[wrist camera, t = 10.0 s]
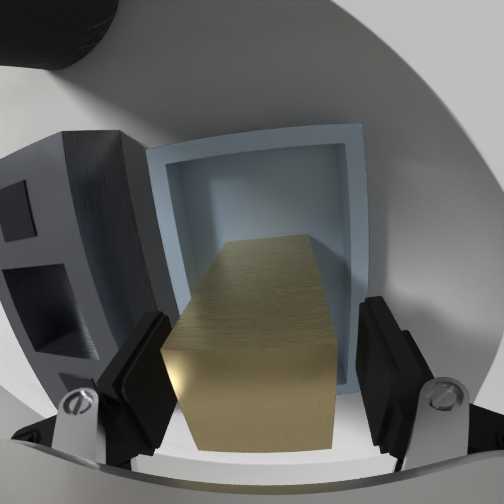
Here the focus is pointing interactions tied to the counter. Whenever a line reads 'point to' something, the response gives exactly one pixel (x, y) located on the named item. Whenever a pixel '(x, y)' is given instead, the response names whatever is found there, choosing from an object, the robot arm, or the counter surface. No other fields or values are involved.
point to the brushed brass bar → (257, 351)
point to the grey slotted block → (70, 257)
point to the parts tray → (271, 210)
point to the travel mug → (51, 31)
